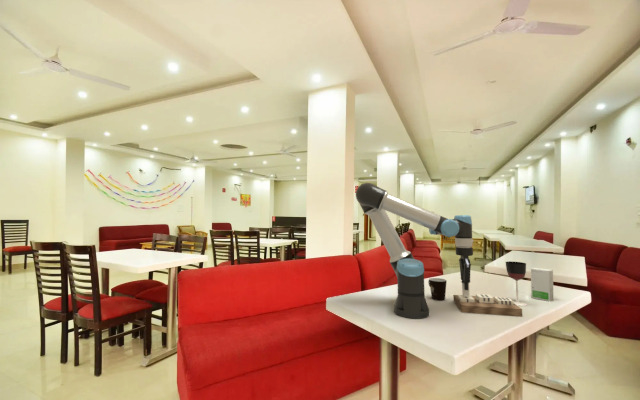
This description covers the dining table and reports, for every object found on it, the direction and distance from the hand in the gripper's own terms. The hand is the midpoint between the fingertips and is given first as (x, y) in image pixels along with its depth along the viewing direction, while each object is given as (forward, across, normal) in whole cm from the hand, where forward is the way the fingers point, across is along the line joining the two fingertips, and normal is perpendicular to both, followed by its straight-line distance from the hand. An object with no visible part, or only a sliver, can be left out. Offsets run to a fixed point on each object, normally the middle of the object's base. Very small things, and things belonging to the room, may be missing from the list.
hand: (466, 296), depth 137 cm
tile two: (+2, 0, -8) cm, 8 cm away
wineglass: (+5, +12, -26) cm, 29 cm away
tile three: (+3, 0, -16) cm, 16 cm away
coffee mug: (+5, +13, +11) cm, 18 cm away
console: (+5, 0, -8) cm, 9 cm away
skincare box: (+5, +24, -42) cm, 49 cm away
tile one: (+3, 0, 0) cm, 3 cm away
